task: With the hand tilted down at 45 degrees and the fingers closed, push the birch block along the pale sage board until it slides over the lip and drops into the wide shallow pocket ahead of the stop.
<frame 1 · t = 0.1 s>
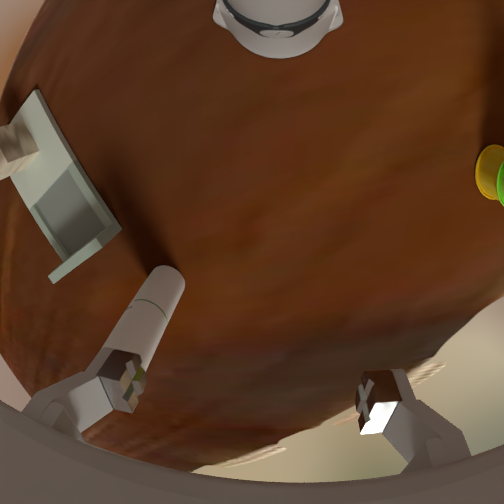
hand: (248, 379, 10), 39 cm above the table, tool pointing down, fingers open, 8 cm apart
birch block: (24, 144, 44), point 1 cm above the table, touching board
cylindrical container: (167, 280, 57), on the table
board: (50, 181, 49), on the table
stacking cups: (493, 171, 39), on the table
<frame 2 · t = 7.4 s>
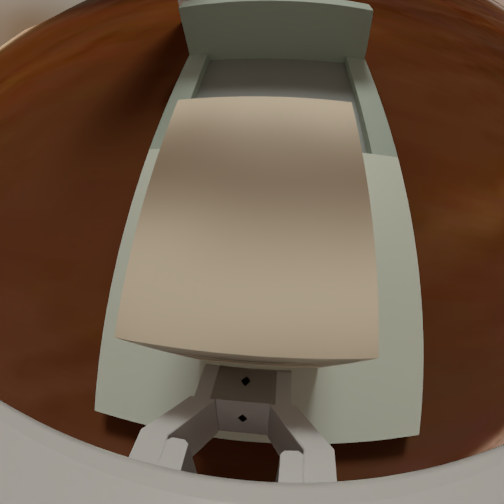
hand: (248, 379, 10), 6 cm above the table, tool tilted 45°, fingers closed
birch block: (264, 289, 16), point 2 cm above the table
board: (272, 171, 21), on the table
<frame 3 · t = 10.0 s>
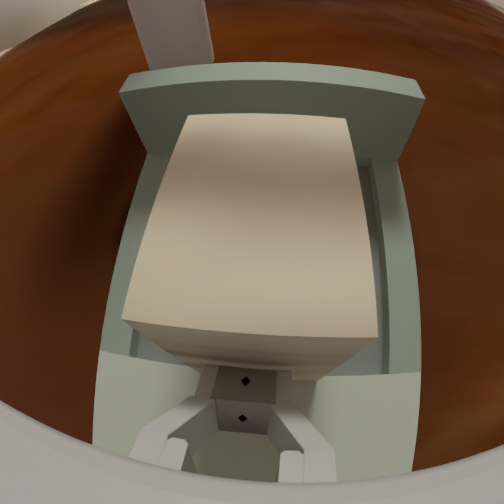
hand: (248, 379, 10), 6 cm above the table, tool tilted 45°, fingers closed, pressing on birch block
birch block: (263, 304, 16), point 1 cm above the table, tilted 7°, touching board, gripper
cylindrical container: (182, 65, 28), on the table
board: (256, 390, 15), on the table
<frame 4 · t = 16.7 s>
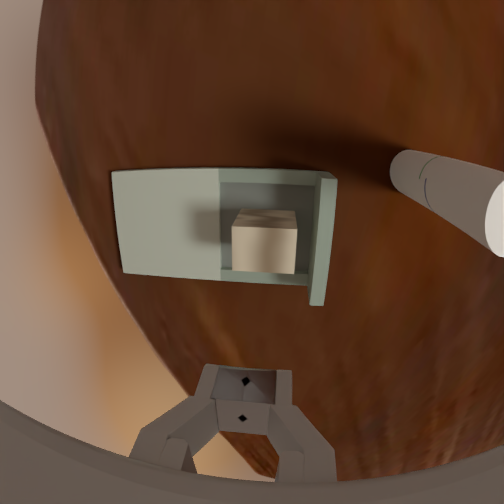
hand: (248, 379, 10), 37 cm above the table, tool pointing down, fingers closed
birch block: (267, 228, 46), resting on board
cylindrical container: (409, 172, 41), on the table
board: (214, 224, 47), on the table
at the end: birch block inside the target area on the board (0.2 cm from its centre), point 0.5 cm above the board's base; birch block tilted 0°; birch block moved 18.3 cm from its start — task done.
